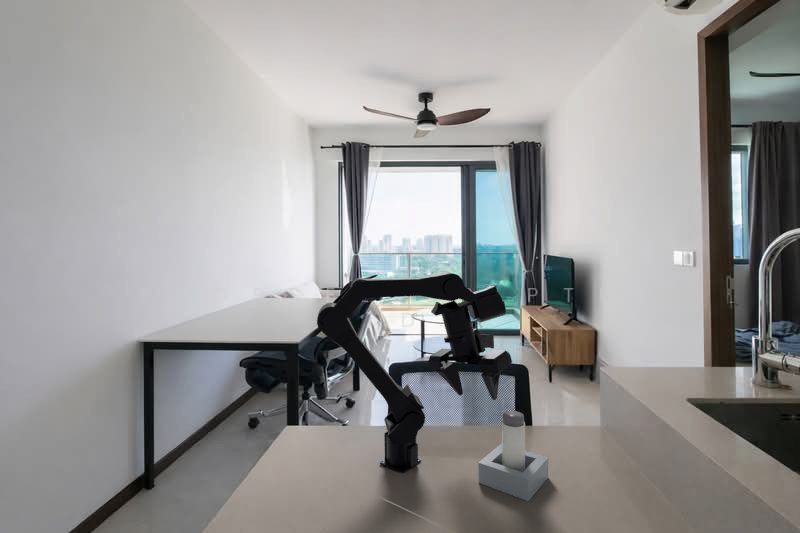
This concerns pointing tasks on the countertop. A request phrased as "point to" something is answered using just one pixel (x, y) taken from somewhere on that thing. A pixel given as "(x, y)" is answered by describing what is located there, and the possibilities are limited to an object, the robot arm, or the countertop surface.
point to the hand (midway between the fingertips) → (477, 396)
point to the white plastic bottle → (513, 440)
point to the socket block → (514, 474)
